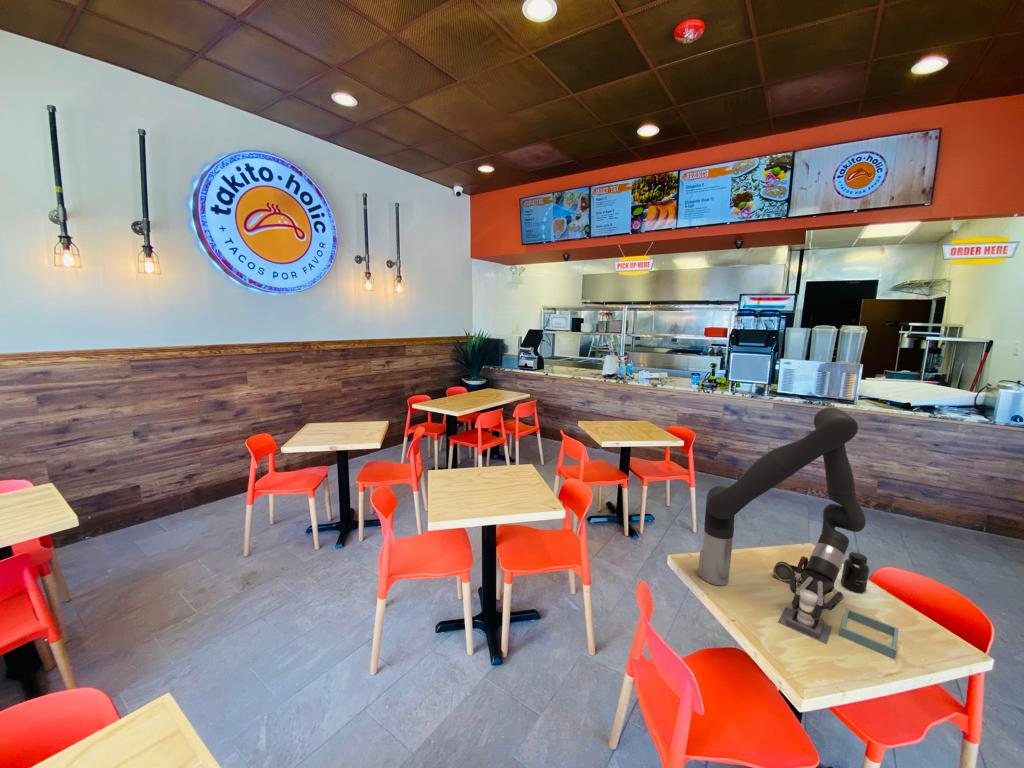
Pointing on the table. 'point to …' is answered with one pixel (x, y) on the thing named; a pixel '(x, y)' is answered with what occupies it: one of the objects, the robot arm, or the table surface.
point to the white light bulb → (806, 607)
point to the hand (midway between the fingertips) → (804, 613)
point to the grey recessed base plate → (818, 632)
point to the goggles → (789, 570)
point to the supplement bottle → (855, 573)
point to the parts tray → (865, 640)
